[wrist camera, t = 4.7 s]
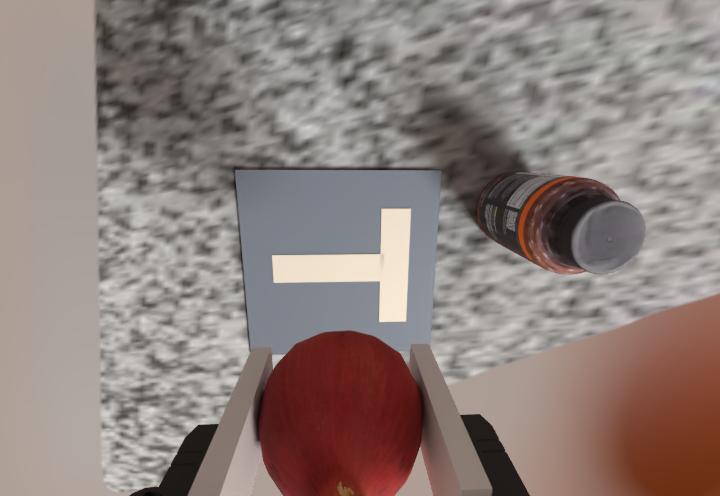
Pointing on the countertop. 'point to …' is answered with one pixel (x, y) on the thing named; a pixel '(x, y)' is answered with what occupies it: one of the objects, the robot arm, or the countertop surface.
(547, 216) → the supplement bottle
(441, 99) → the countertop surface
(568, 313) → the countertop surface
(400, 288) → the letter card
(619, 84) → the countertop surface
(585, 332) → the countertop surface
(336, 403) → the onion
